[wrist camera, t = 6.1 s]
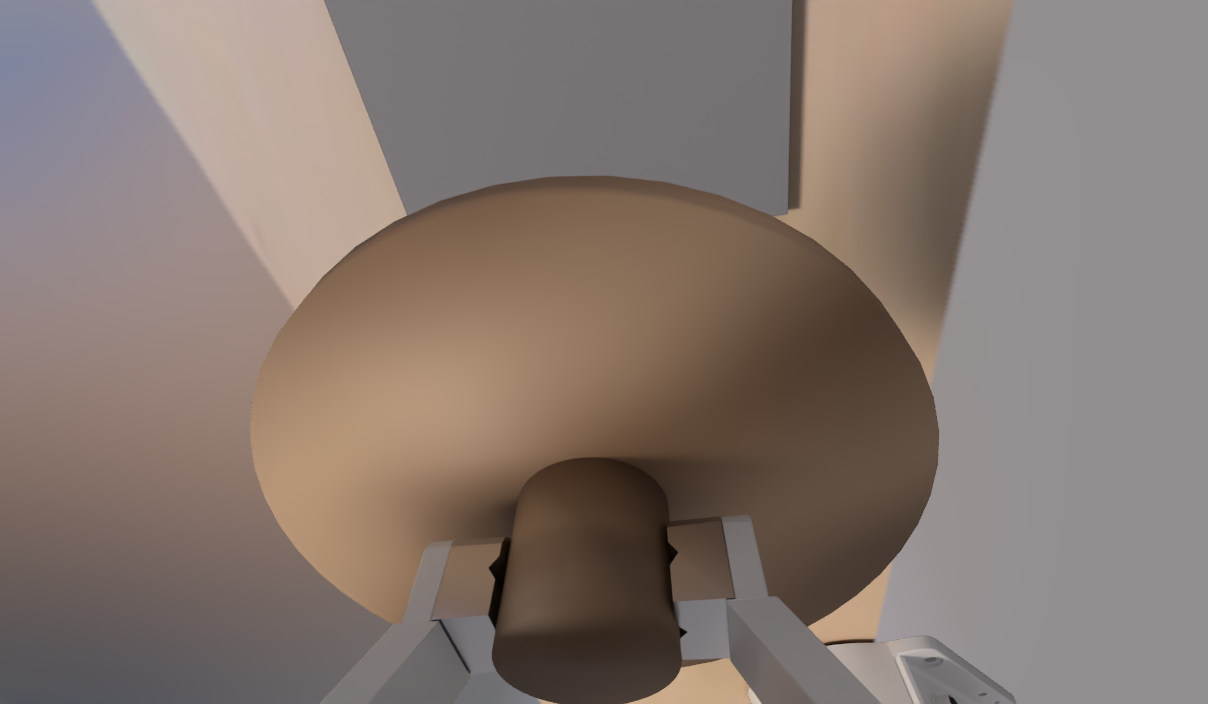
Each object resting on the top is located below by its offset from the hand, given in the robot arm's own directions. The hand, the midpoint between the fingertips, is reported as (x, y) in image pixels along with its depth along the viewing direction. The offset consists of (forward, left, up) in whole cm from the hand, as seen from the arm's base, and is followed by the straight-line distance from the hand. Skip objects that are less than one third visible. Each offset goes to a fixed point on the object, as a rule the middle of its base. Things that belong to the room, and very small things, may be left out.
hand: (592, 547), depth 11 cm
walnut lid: (0, 0, -2) cm, 2 cm away
